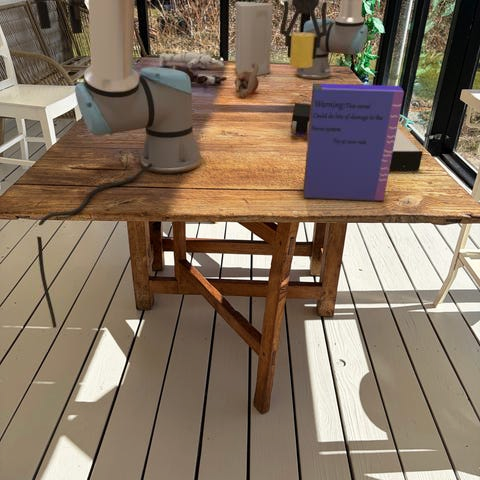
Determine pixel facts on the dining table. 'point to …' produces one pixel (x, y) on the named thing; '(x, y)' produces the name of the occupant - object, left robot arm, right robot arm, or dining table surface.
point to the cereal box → (351, 141)
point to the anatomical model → (247, 81)
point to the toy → (188, 59)
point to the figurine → (200, 79)
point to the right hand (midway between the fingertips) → (301, 57)
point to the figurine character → (301, 119)
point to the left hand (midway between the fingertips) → (61, 31)
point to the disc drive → (405, 154)
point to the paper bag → (253, 36)
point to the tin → (302, 49)
